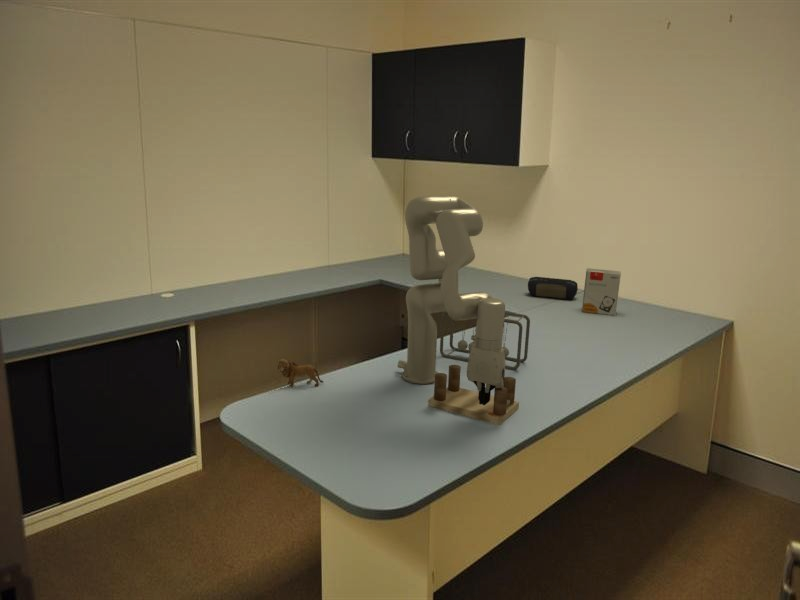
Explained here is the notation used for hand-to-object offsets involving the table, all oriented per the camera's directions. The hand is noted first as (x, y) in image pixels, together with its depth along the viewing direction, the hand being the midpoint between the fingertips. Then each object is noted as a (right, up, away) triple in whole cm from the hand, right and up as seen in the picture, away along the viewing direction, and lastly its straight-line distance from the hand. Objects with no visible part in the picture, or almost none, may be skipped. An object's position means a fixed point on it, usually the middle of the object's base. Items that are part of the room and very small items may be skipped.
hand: (483, 403), depth 186 cm
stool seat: (-2, -2, +7) cm, 8 cm away
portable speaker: (+54, +31, +147) cm, 160 cm away
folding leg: (+6, -1, +2) cm, 6 cm away
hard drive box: (+70, +24, +120) cm, 141 cm away
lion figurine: (-56, +2, +20) cm, 60 cm away
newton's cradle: (+6, +8, +49) cm, 50 cm away
